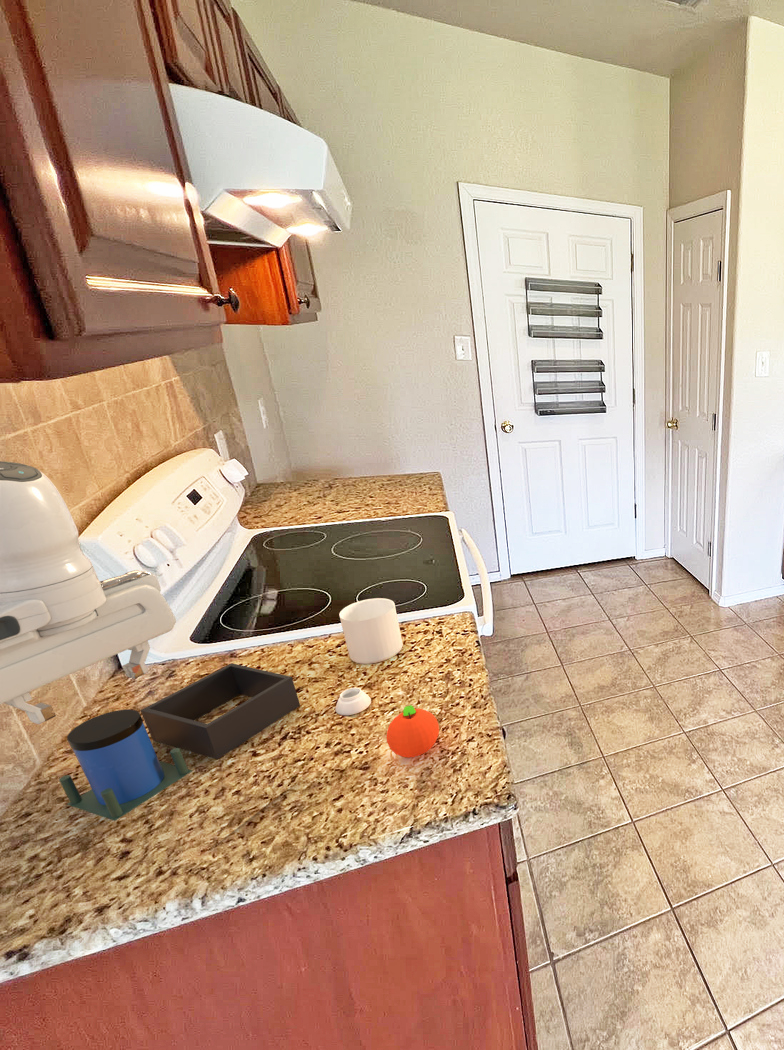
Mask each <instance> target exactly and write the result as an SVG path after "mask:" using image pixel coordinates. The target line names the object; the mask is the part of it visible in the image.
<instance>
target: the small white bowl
mask: <svg viewBox="0 0 784 1050" xmlns="http://www.w3.org/2000/svg"><path fill="white" fill-rule="evenodd" d="M371 704H372V698H371V696H369V695H368V694H367V693H366V692H365V691H364V690H363V689H361V688H359V687H350V688H348V689H344V690H343V691H341V693H340V694H339V698H338V699H337V702H336V705H335V708H334V710H335V712H336V714H337V715H339V716H351V715H357V714H358V713H362V712H363V711H365V710H366V709H367V708H369V707H370V705H371Z"/></svg>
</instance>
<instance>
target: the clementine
mask: <svg viewBox="0 0 784 1050" xmlns="http://www.w3.org/2000/svg"><path fill="white" fill-rule="evenodd" d="M439 734H440V726H439V721H438V719H437V718H436V716H435V715H434V714H433V713H432V712H430V711H428V710H426V709H424V708H415V707H414V706H413V705H411V704H409V705H406V706H405V707H404V708H403V711H402V712H400V713H399V714H398V715H396V716H395V717H394V718H393V719H392V720H391V722H390V723H389V725H388V728H387V730H386V743H387V745H388V747H389V749H390V750H391V751H392V752H393V753H394V754H395V755H397V756H400V757H403V758H415V757H418V756H421V755H424V754H425V753H427V752H429V750H431V748H433V746H434V745H435V743H437V739H438V737H439Z"/></svg>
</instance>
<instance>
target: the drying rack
mask: <svg viewBox="0 0 784 1050" xmlns="http://www.w3.org/2000/svg"><path fill="white" fill-rule="evenodd" d="M169 753H170V756H171V758H172V761H173V763H174V764H172V763H169V762H166V761H162V760H159V762H160V764H161V767H162V769H163V772H164V778H163V780H162V781H161V783H160V784H159V785H158V786H156V787H155V788H154V789H153V790H151V791H150V792H148V793H146V794H145V795H143V796H141V797H139V798H137V799H134V800H132V801H129V802H126V803H122V804H119V803H118V801H117V799H116V796H115V794H114V792H113V790H112V789H111V788H108V789H105V790H103V791H102V792H101V795H102V797H103V799H104V802H105V804H106V805H102V804H100V803H99V802H98V800H97V798H96V796H95V794H94V792H93V790H92V788H90V790H88V791H86V792H85V793H83V794H80V792H79V790H78V787H77V786H76V783H75V782H74V780H73V778H72V775H70V774H66V775H63V776H61V777H60V778H59V779H58V781H59V783H60V786H61V787H62V789H63V791H64V793H65V795H66V797H67V799H68V800H69V802H68V803H66V806H69V807H73V808H76V809H79V810H81V811H85V812H87V813H90V814H93V815H97V816H99V817H102V818H105V819H108V820H111V821H114V822H115V821H118V820H119V819H120V818H122V817H123V816H125V815H126V814H128V813H130V812H131V811H133V810H134V809H136V808H138V807H139V806H141V805H142V804H143V803H145V802H147V801H149V800H150V799H152V798H154V796H156V795H158V794H159V793H160V792H162V791H165V789H167V788H169V787H170V786H171V785H174V784H175V783H176V782H178V781H179V780H181V779H182V778H184V777H185V776H187V775H189V774H190V773H192V772H193V771H194V770H192V769H190V768H188V766H187V763H186V761H185V758H184V755H183V754H182V750H181V749H180V748H175V747H173V748H172V749H171V750H170V751H169Z"/></svg>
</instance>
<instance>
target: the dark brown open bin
mask: <svg viewBox="0 0 784 1050" xmlns="http://www.w3.org/2000/svg"><path fill="white" fill-rule="evenodd" d="M296 689H297V688H296V687H295V683H294V680H293V677H292V676H290V675H285V674H282V673H276V672H273V671H268V670H263V669H258V668H255V667H249V666H245V665H241V664H237V663H233V662H232V663H229V664H226V665H225V666H223V667H221V668H219V669H218V670H215V671H214V672H212V673H209V674H208V675H206V676H204V677H202V678H199V679H197V680H196V681H194V682H192V683H190V684H189V685H187V686H184V687H182V688H181V689H179V690H177V691H175V692H172V693H171V694H169V695H167V696H165V697H164V698H161V699H159V700H158V701H155V702H154V703H152V704H150V705H148V706H146V707H144V708H142V709H141V710H140V711H139V712H140V714H141V717H142V719H143V720H144V721H143V722H144V724H145V725H146V728H147V730H148V734H149V735H150V738H151V740H152V741H153V743H157V744H161V745H163V746H164V745H165V746H168V747H172V748H180V750H181V751H185V752H189V753H192V754H197V755H200V756H204V757H207V758H210V759H215V760H220V759H221V758H222V757H224V756H226V755H227V754H229V753H230V752H232V751H233V750H234V749H236V748H238V747H239V746H241V745H242V744H244V743H246V742H247V741H248V740H250V739H251V738H253V737H255V736H256V735H257V734H259V733H261V732H262V731H264V730H265V729H267V728H268V727H270V726H271V725H273V724H274V723H276V722H278V721H279V720H280V719H282V718H284V717H285V716H287V715H288V714H290V713H292V712H293V711H295V710H297V709H298V708H300V706H301V704H300V701H299V696H298V694H297V690H296ZM239 695H241V696H245V697H249V699H247V700H245V701H244V702H242V703H240V704H239V705H237V706H235V707H234V708H232V709H230V710H229V711H227V712H225V713H224V714H222V715H220V716H218V717H216V718H214V719H213V720H211V721H210V722H208V723H205V722H201V721H197V720H198V719H199V718H202V717H203V716H205V715H206V714H208V713H210V712H212V711H213V710H215V709H217V708H219V707H220V706H222V705H224V704H226V703H228V702H229V701H231V700H232V699H235V698H236V697H238V696H239Z"/></svg>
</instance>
